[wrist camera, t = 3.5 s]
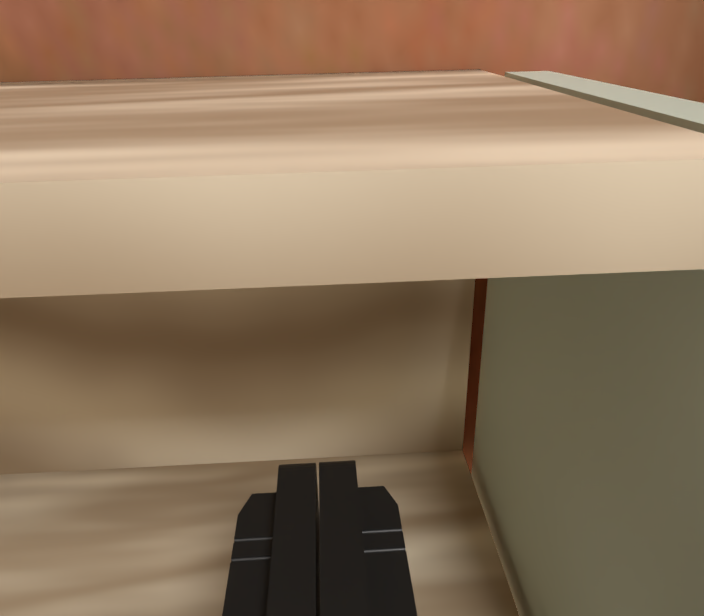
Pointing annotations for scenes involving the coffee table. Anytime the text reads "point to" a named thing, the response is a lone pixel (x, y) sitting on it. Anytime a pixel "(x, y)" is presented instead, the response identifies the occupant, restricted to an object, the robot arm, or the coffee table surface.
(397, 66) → the coffee table surface
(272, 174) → the box
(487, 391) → the flat panel
